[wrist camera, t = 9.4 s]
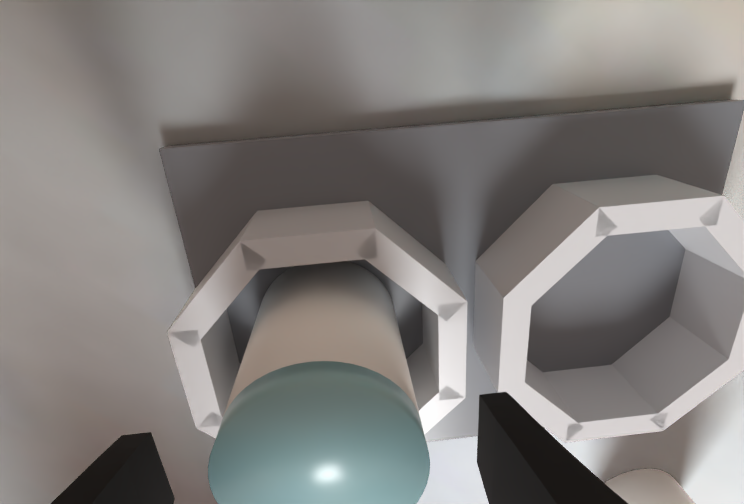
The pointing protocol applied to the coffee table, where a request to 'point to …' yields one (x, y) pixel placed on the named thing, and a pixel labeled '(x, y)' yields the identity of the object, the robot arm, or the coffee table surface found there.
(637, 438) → the coffee table surface
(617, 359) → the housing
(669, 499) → the rounded-end tube
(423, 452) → the teal-capped white cylinder
